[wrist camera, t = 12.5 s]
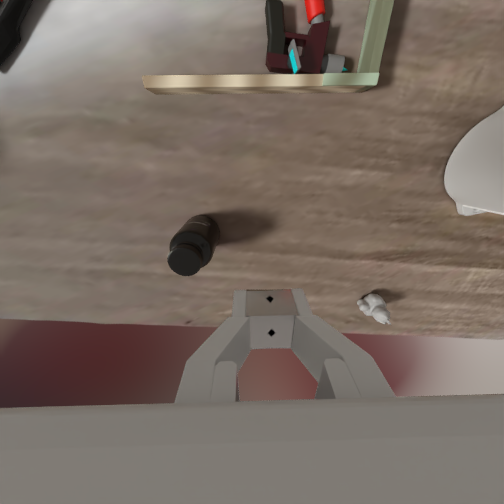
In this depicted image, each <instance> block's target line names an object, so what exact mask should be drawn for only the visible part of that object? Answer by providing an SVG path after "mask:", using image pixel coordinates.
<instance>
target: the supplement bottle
mask: <svg viewBox="0 0 504 504" xmlns="http://www.w3.org/2000/svg"><path fill="white" fill-rule="evenodd" d="M219 236H220V231H219V228H218V225H217V224H216V223H215V221H213V220H212V219H211V218H209V217H206V216H194V217H192V218H191V219H189V220H188V221H187V222H186V223H185V224H184V225H183V227H182V228H181V229H180V230H179V231H178V232H177V233H176V234H175V235H174V237H173V238H172V240H171V242H170V253H169V255H168V258H167V259H168V264H169V267H170V268H171V269H172V270H173V271H174V272H176V273H177V274H179V275H182V276H192V275H194V274H195V273H197V272H198V271H199V270H200V268H202V267H204V266H206V265H207V264H208V263H209V262H210V260H211V258H212V256H213V254H214V251H215V248H216V245H217V243H218V240H219Z"/></svg>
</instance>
